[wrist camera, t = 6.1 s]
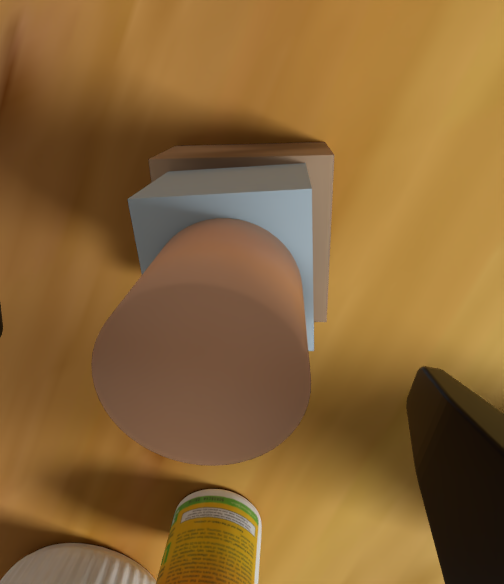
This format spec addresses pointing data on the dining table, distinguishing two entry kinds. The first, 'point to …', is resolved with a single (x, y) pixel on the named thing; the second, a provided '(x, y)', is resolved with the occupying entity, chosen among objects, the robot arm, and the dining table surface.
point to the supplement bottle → (213, 541)
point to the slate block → (231, 211)
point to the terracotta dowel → (209, 347)
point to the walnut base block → (261, 155)
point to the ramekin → (77, 567)
